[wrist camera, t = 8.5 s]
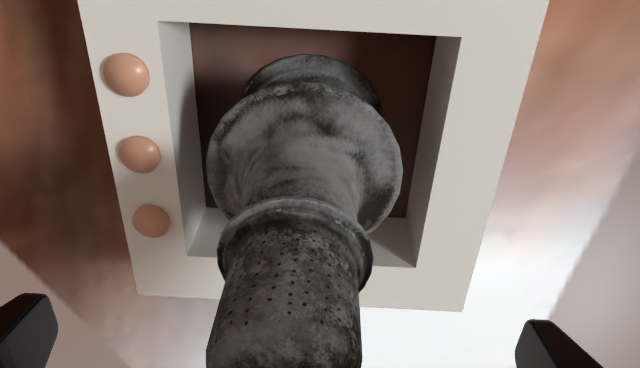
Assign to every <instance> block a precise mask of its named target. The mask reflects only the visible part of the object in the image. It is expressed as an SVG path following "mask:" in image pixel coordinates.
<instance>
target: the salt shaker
mask: <svg viewBox="0 0 640 368" xmlns="http://www.w3.org/2000/svg"><path fill="white" fill-rule="evenodd" d="M206 171H207V182H208V185H209V188H210V190H211V193H212V195H213V198H214V200H215V203H216V204H217V206H218V207H219V208H220V210H221V211H222V212H223V214H224V215H225V216H226V218H227V219H228V220H229V222H228V224H227V225H226V227H225V228H224V230H223V231H222V233H221V236H220V239H219V243H218V247H217V263H218V267H219V270H220V272H221V274H222V277H223V279H224V281H225V284H224V287H223V291H222V295H221V298H220V302H219V305H218V309H217V313H216V316H215V320H214V323H213V327H212V331H211V334H210V338H209V341H208V345H207V349H206V368H361V363H362V344H361V326H360V308H359V292H360V291H361V290H362V289H363V288H364V287H365V285H366V283H367V281H368V279H369V277H370V275H371V273H372V266H373V259H374V258H373V252H372V248H371V243H370V240H369V238H368V236H367V235H368V234H369V233H371V232H372V231H374V230H375V229H376V228H377V227H378V226H379V225H380V224H381V222H382V221H383V220H384V219H385V218H386V217H387V216H388V215H389V213H390V212H391V210H392V208H393V206H394V204H395V202H396V200H397V198H398V196H399V194H400V188H401V182H402V176H403V166H402V160H401V153H400V147H399V145H398V143H397V141H396V139H395V137H394V135H393V132H392V130H391V128H390V126H389V125H388V123H387V122H386V121H385V120H384V119H383V118H382V111H381V105H380V102H379V100H378V98H377V96H376V94H375V92H374V90H373V88H372V86H371V85H370V84H369V83H368V82H367V81H366V80H365V79H364V77H363V76H362V75H361V74H360V73H359V72H357V71H356V70H354V69H353V68H351V67H350V66H348V65H347V64H345V63H344V62H342V61H339V60H336V59H333V58H330V57H326V56H323V55H308V54H300V55H295V56H291V57H286V58H282V59H280V60H278V61H276V62H274V63H272V64H270V65H268V66H266V67H264V68H263V69H262V70H261V71H260V72H259V73H258V74H257V75H256V76H254V77H253V78H252V79H251V80H250V82H249V83H248V85H247V87H246V88H245V90H244V92H243V93H242V95H241V97H240V101H239V102H238V103H237V104H236V105H235V106H234V107H232V108H231V109H230V110H229V111H228V112H227V113H226V114H225V115H224V116H223V117H222V119H221V121H220V122H219V124H218V126H217V128H216V129H215V131H214V133H213V134H212V136H211V138H210V143H209V147H208V152H207V156H206Z"/></svg>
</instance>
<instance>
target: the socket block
mask: <svg viewBox="0 0 640 368" xmlns="http://www.w3.org/2000/svg"><path fill="white" fill-rule="evenodd" d="M77 1H78V6H79V11H80V16H81V20H82V25H83V30H84V35H85V40H86V45H87V50H88V54H89V59H90V64H91V69H92V74H93V79H94V84H95V88H96V93H97V98H98V103H99V108H100V113H101V117H102V122H103V127H104V132H105V137H106V142H107V147H108V151H109V156H110V161H111V166H112V171H113V176H114V180H115V185H116V190H117V195H118V200H119V205H120V210H121V214H122V219H123V224H124V229H125V234H126V239H127V244H128V248H129V253H130V258H131V263H132V268H133V273H134V277H135V282H136V287H137V292H138V295H149V296H168V297H187V298H206V299H220V298H221V295H222V291H223V287H224V284H225V281H224V279H223V277H222V274H221V272H220V270H219V267H218V263H217V247H218V243H219V239H220V236H221V233H222V231H223V230H224V228H225V227H226V225H227V224H228V222H229V220H228V219H227V218H226V216H225V215H224V214H223V212H222V211H221V210H220V208H210V207H206V200H205V189H204V179H203V168H202V157H201V146H200V136H199V125H198V114H197V103H196V93H195V82H194V71H193V60H192V50H191V39H190V28H189V22H191V23H210V24H228V25H247V26H266V27H284V28H303V29H321V30H340V31H358V32H377V33H395V34H414V35H432V36H436V42H435V48H434V54H433V59H432V65H431V71H430V77H429V83H428V89H427V94H426V100H425V106H424V112H423V118H422V124H421V130H420V135H419V141H418V147H417V153H416V159H415V165H414V170H413V176H412V182H411V188H410V194H409V200H408V206H407V211H406V217H405V218H399V217H386V218H385V219H384V220H383V221H382V222H381V224H380V225H379V226H378V227H377V228H376V229H375V230H374V231H372V232H371V233H369V234H368V235H367V236H368V238H369V240H370V243H371V248H372V252H373V258H374V259H373V266H372V273H371V275H370V277H369V279H368V281H367V283H366V285H365V287H364V288H363V289H362V290H361V291H360V292H359V307H378V308H397V309H416V310H435V311H454V312H462V309H463V306H464V302H465V299H466V295H467V291H468V288H469V284H470V281H471V277H472V274H473V270H474V267H475V263H476V259H477V256H478V252H479V249H480V245H481V242H482V238H483V235H484V231H485V227H486V224H487V220H488V217H489V213H490V210H491V206H492V203H493V199H494V196H495V192H496V188H497V185H498V181H499V178H500V174H501V171H502V167H503V164H504V160H505V156H506V153H507V149H508V146H509V142H510V139H511V135H512V132H513V128H514V124H515V121H516V117H517V114H518V110H519V107H520V103H521V100H522V96H523V92H524V89H525V85H526V82H527V78H528V75H529V71H530V68H531V64H532V60H533V57H534V53H535V50H536V46H537V43H538V39H539V36H540V32H541V28H542V25H543V21H544V18H545V14H546V11H547V7H548V4H549V0H77Z"/></svg>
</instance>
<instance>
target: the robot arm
mask: <svg viewBox="0 0 640 368" xmlns="http://www.w3.org/2000/svg"><path fill="white" fill-rule="evenodd" d="M57 333H58V324H57V320H56V317H55V314H54V311H53V308H52V305H51V302H50V300H49V298H48V297H47V296H46V295H45V294H36V293H24V294H21V295H19V296H17V297H15V298H14V299H12V300H11V301H9V302H8V303H6V304H5V305H3V306H1V307H0V368H45V366H46V364H47V361H48V358H49V356H50V353H51V351H52V348H53V345H54V343H55V340H56V337H57ZM515 361H516V366H517V368H603V367H602V366H601V365H600V364H599V363H598V362H596V361H595V360H594V359H593V358H592V357H591V356H590V355H589V354H588V353H587V352H585V351H584V350H583V349H582V348H581V347H580V346H579V345H578V344H577V343H575V342H574V341H573V340H572V339H571V338H570V337H569V336H568V335H566V334H565V333H564V332H563V331H562V330H561V329H560V328H559V327H558V326H557V325H555V324H554V323H553V322H551V321H549V320H536V319H530V320H528V321H527V322H526V323H525V325H524V327H523V330H522V333H521V335H520V338H519V340H518V343H517V345H516V349H515Z"/></svg>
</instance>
